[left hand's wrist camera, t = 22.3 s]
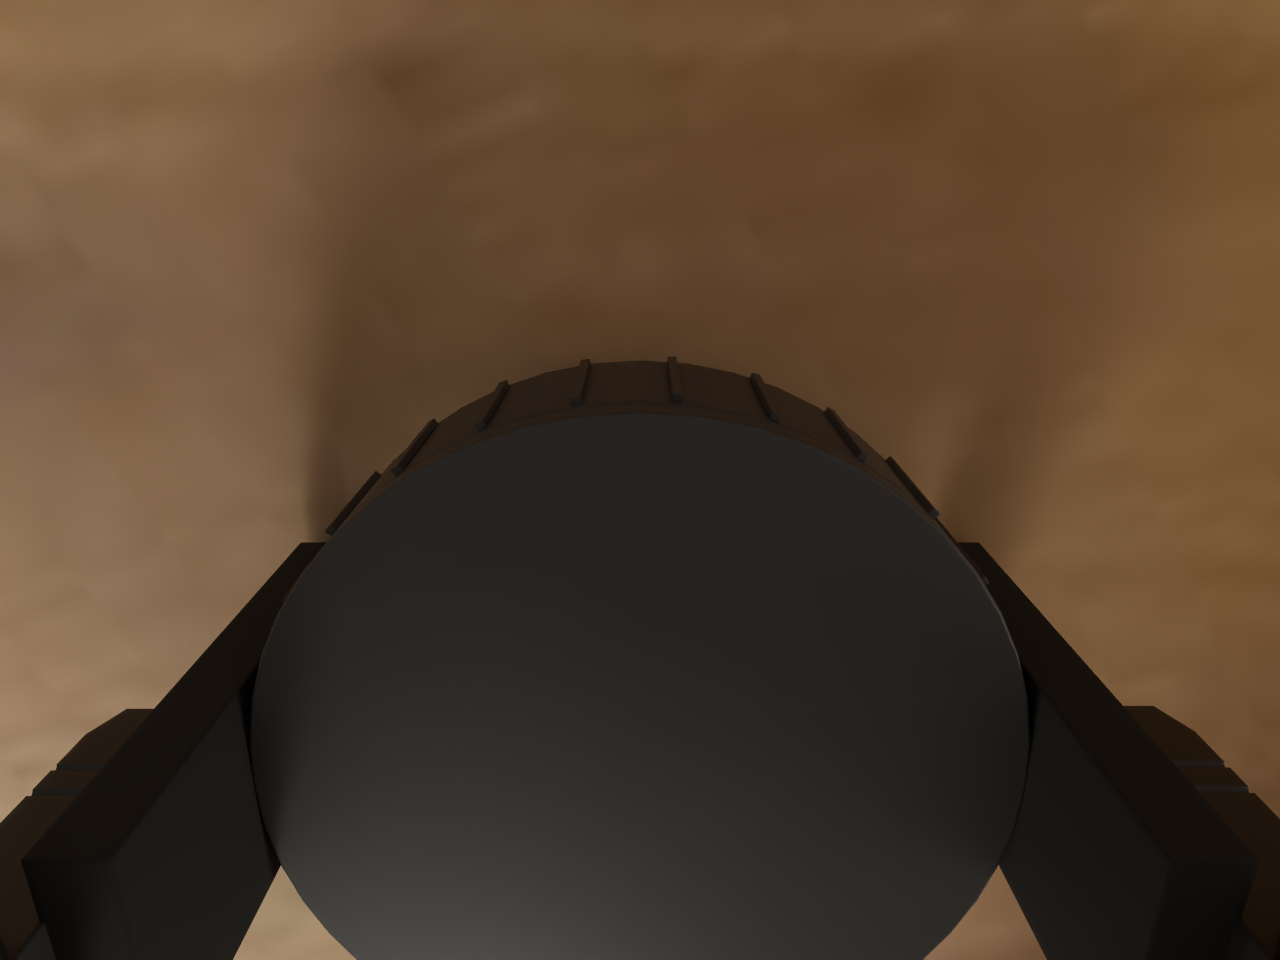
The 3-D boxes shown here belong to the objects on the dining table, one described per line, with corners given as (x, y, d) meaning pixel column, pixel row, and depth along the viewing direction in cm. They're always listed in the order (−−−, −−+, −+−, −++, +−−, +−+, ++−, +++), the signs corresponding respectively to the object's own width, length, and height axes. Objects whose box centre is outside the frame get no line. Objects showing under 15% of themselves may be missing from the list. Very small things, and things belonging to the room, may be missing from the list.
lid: (278, 851, 14) (204, 992, 11) (369, 268, 11) (295, 299, 8) (836, 964, 14) (873, 1117, 12) (1069, 454, 11) (1179, 529, 9)
